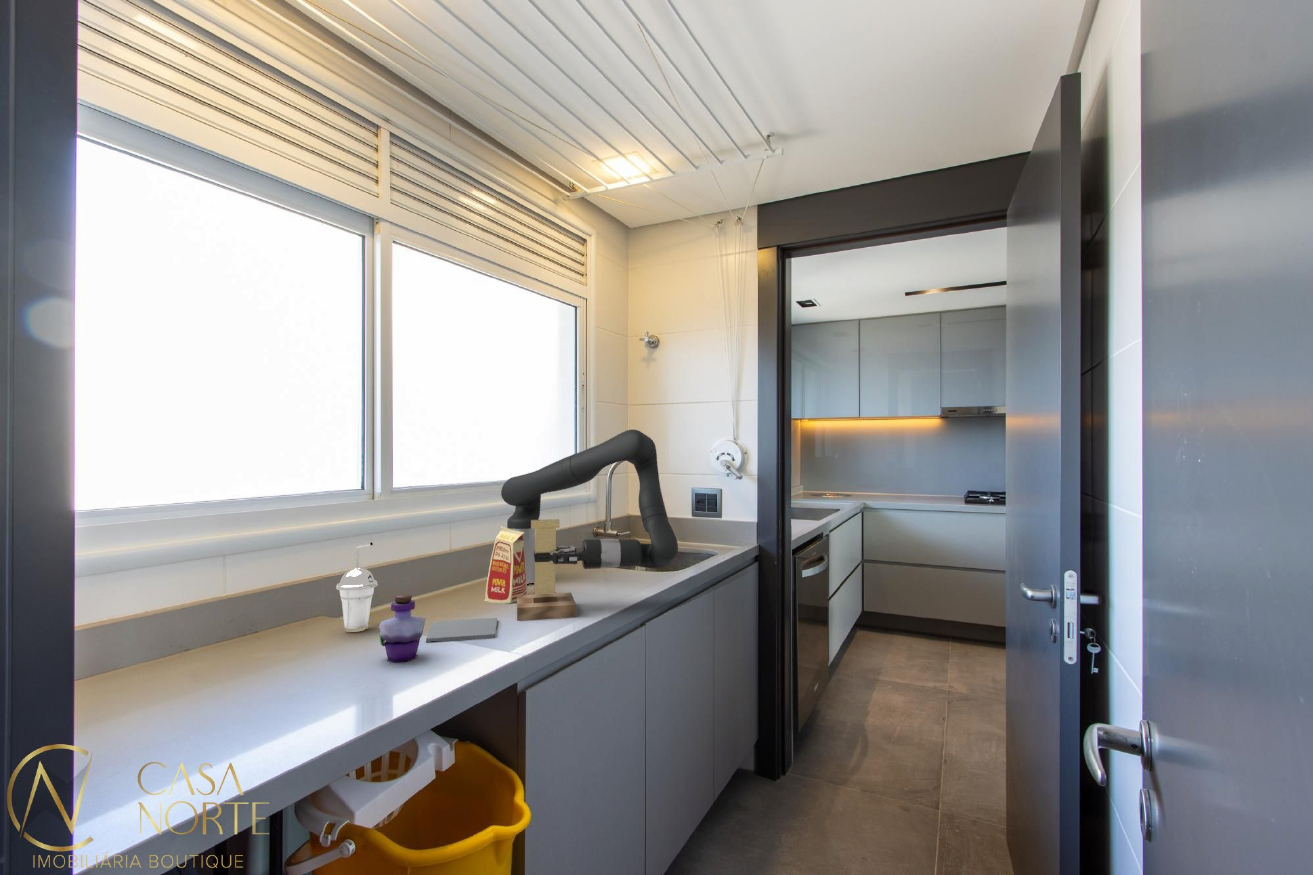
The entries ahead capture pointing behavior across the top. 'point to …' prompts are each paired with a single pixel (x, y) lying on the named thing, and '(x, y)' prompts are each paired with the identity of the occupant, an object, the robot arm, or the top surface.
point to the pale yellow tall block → (545, 544)
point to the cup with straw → (356, 594)
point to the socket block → (545, 606)
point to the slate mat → (463, 629)
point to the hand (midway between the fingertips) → (534, 555)
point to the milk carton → (507, 568)
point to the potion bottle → (402, 631)
